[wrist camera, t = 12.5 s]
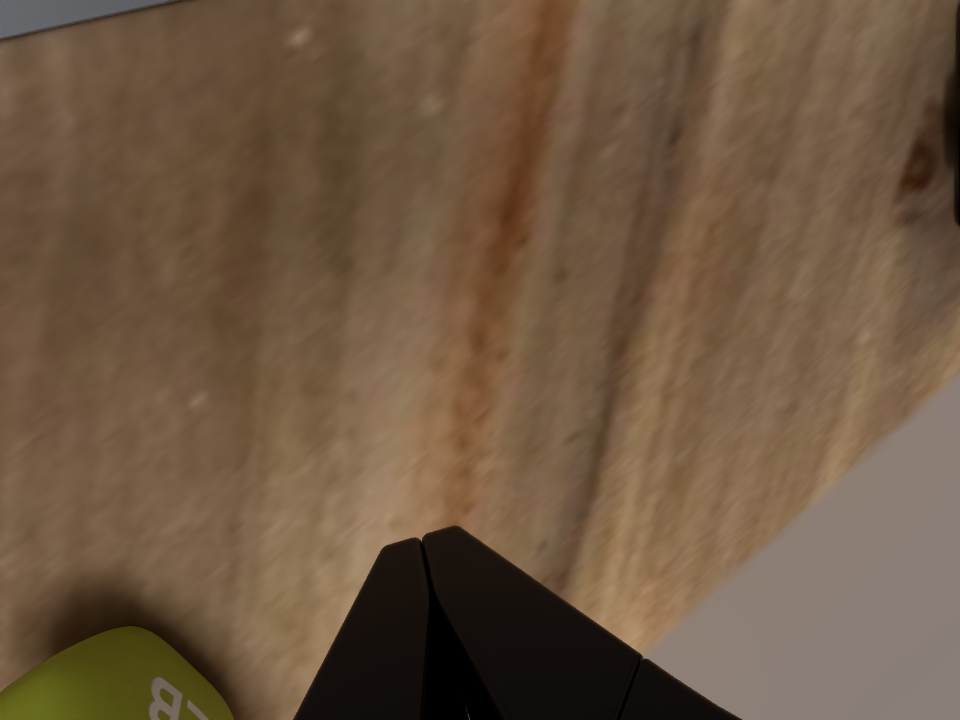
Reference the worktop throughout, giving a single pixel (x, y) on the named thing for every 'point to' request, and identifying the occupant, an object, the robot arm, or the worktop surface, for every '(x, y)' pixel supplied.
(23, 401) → the worktop surface
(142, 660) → the dumbbell
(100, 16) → the mat
